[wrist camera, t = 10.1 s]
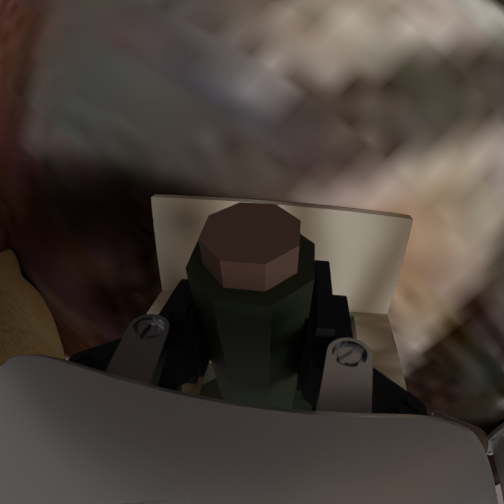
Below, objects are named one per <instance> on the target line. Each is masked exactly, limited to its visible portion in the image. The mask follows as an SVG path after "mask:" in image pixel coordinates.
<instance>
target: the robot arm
mask: <svg viewBox="0 0 504 504" xmlns="http://www.w3.org/2000/svg"><path fill="white" fill-rule="evenodd" d="M209 361H210V357H209V353H208V350H207V346H206V343H205V340H204V336H203V332H202V329H201V325H200V321H199V317H198V313H197V309H196V307H195V304H194V300H193V296H192V292H191V289H190V285H189V281H188V278H187V279H181V280H180V282H179V283H178V285H177V286H176V288H175V289H174V291H173V292H172V294H171V296H170V297H169V299H168V300H167V302H166V303H165V305H164V307H163V308H162V310H161V311H160V313H159V314H158V315H157V314H146V315H142V316H139V317H137V318H135V319H134V320H133V321H131V323H130V324H129V325H128V327H127V329H126V331H125V333H124V335H123V337H122V338H120V339H117V340H114V341H111V342H108V343H105V344H102V345H99V346H96V347H93V348H90V349H87V350H84V351H81V352H79V353H77V354H74V355H73V356H72V357H71V358H70V359H69V360H65V358H64V359H61V358H56V357H52V356H45V355H38V354H32V355H19V356H14V357H12V358H10V359H8V360H7V361H5V362H4V363H3V364H2V365H0V504H498V500H497V494H496V489H495V484H494V479H493V475H492V471H491V468H490V464H489V461H488V458H487V455H494V459H495V463H496V467H497V471H498V476H499V480H500V485H501V490H502V496H503V501H504V422H503V423H501V424H500V425H499V426H498V427H497V428H495V429H494V430H493V431H492V432H491V433H490V434H489V435H488V436H487V435H486V434H485V432H484V431H483V430H481V429H480V428H478V427H476V426H473V425H470V424H467V423H465V422H462V421H459V420H456V419H454V418H451V417H449V416H446V415H443V414H441V413H438V412H436V411H434V412H433V413H432V414H431V413H428V412H427V409H426V407H425V406H424V404H423V403H422V402H421V401H420V400H419V399H417V398H416V397H415V396H413V395H412V394H410V393H409V392H407V391H406V390H405V389H403V388H402V387H400V386H399V385H398V384H396V383H395V382H393V381H392V380H391V379H389V378H388V377H386V376H385V375H384V374H382V373H381V372H379V371H378V370H377V369H375V368H374V367H373V356H372V352H371V350H370V348H369V347H368V346H367V345H366V344H365V343H364V342H362V341H360V340H358V339H354V338H353V336H352V328H351V321H350V314H349V307H348V300H347V296H343V295H333V292H332V282H331V273H330V263H329V261H321V260H315V279H314V286H313V293H312V299H311V306H310V312H309V318H308V324H307V330H306V336H305V341H304V346H303V351H302V355H301V360H300V364H299V369H298V376H297V388H296V390H299V391H302V397H301V399H303V400H306V401H307V402H308V403H309V404H310V405H311V406H312V407H311V410H299V409H288V408H279V407H270V406H262V405H255V404H247V403H241V402H234V401H228V400H222V399H216V398H211V397H205V396H200V395H195V394H190V393H185V392H182V385H183V384H186V383H190V384H195V385H196V384H197V381H198V378H199V377H204V375H205V372H206V370H207V367H208V364H209Z"/></svg>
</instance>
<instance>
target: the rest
mask: <svg viewBox="0 0 504 504" xmlns="http://www.w3.org/2000/svg"><path fill="white" fill-rule="evenodd" d="M239 202H243V203H263V204H276V205H278V206H279V207H281V208H282V209H284V210H285V211H287V212H288V213H290V214H292V215H293V216H295V217H296V218H298V219H299V220H301V226H300V234H302V235H303V236H304V237H306V238H307V239H309V240H310V241H312V242H313V243H314V244H315V260H321V261H329V263H330V273H331V282H332V292H333V295H343V296H347V300H348V307H349V314H350V321H351V328H352V336H353V338H354V339H358V340H360V341H362V342H364V343H365V344H366V345H367V346H368V347H369V348H370V350H371V352H372V356H373V367H374V368H375V369H377V370H378V371H379V372H381V373H382V374H384V375H385V376H386V377H388V378H389V379H391V380H392V381H393V382H395V383H396V384H398V385H399V386H400V387H402V388H403V389H405V390H406V391H407V389H406V385H405V380H404V376H403V372H402V368H401V364H400V359H399V356H398V352H397V348H396V344H395V340H394V337H393V333H392V329H391V326H390V322H389V319H388V315H387V313H388V310H389V307H390V304H391V301H392V297H393V294H394V291H395V287H396V284H397V281H398V277H399V274H400V270H401V266H402V263H403V259H404V255H405V251H406V247H407V243H408V239H409V235H410V230H411V226H412V221H413V219H412V218H411V216H408V215H401V214H393V213H386V212H378V211H370V210H361V209H352V208H343V207H334V206H324V205H314V204H303V203H292V202H280V201H268V200H255V199H240V198H225V197H207V196H187V195H162V194H155V195H153V196H152V197H151V204H152V214H153V223H154V232H155V241H156V249H157V257H158V264H159V271H160V278H161V285H162V292H161V293H160V294H159V296H158V297H157V299H156V300H155V302H154V303H153V305H152V306H151V308H150V309H149V311H148V312H147V313H146V314H157V315H158V314H159V313H160V311H161V310H162V308H163V307H164V305H165V303H166V302H167V300H168V299H169V297H170V296H171V294H172V292H173V291H174V289H175V288H176V286H177V285H178V283H179V282H180V280H181V279H187V278H188V277H187V273H186V269H185V268H186V266H187V263H188V261H189V259H190V257H191V254H192V252H193V250H194V248H195V245H196V243H197V241H198V238H199V236H200V233H201V231H202V229H203V227H204V225H205V222H206V220H207V218H208V216H209V215H211V214H213V213H215V212H218V211H220V210H223V209H225V208H227V207H230V206H232V205H235V204H237V203H239ZM214 378H216V376H215V373H214V370H213V367H212V363H211V360H210V361H209V364H208V367H207V370H206V372H205V375H204V377H199V378H198V381H197V384H196V385H195V384H190V383H186V384H183V385H182V392H185V393H190V394H195V395H200V391H201V387H202V385H204V384H206V383H208V382H209V381H211V380H213V379H214Z"/></svg>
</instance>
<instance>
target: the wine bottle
mask: <svg viewBox="0 0 504 504" xmlns="http://www.w3.org/2000/svg"><path fill="white" fill-rule="evenodd" d="M300 226H301V220H299V219H298V218H296V217H295V216H293V215H292V214H290V213H288V212H287V211H285V210H284V209H282V208H281V207H279V206H278V205H276V204H263V203H243V202H239V203H237V204H235V205H232V206H230V207H227V208H225V209H223V210H220V211H218V212H215V213H213V214H211V215H209V216H208V218H207V220H206V222H205V225H204V227H203V229H202V231H201V233H200V236H199V238H198V241H197V243H196V245H195V248H194V250H193V252H192V254H191V257H190V259H189V261H188V263H187V266H186V268H185V269H186V273H187V277H188V281H189V285H190V289H191V292H192V296H193V300H194V304H195V307H196V309H197V313H198V317H199V321H200V325H201V329H202V332H203V336H204V340H205V343H206V346H207V350H208V353H209V357H210V360H211V363H212V367H213V370H214V373H215V376H216V378H214V379H213V380H211V381H209V382H208V383H206V384H204V385H202V387H201V391H200V396H205V397H211V398H216V399H222V400H228V401H234V402H241V403H247V404H255V405H262V406H270V407H279V408H288V409H299V410H311V407H312V406H311V405H310V404H309V403H308V402H307V401H306V400H303V399H301V397H302V391H299V390H296V388H297V376H298V369H299V364H300V360H301V355H302V351H303V346H304V341H305V336H306V330H307V324H308V318H309V312H310V306H311V299H312V293H313V286H314V279H315V244H314V243H313V242H312V241H310V240H309V239H307V238H306V237H304V236H303V235H302V234H300Z"/></svg>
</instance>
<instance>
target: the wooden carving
mask: <svg viewBox="0 0 504 504" xmlns="http://www.w3.org/2000/svg"><path fill="white" fill-rule="evenodd" d="M32 354H38V355H45V356H52V357H56V358H61V359H64V358H65V355H64V351H63V347H62V343H61V339H60V336H59V333H58V329H57V326H56V323H55V321H54V318H53V316H52V314H51V312H50V310H49V308H48V306H47V305H46V303H45V301H44V300H43V298H42V296H41V295H40V293H39V292H38V291H37V290H36V289H35V288H34V286H32V285H31V284H30V283H29V282H28V281H27V280H26V279H24V278H23V277H22V274H21V270H20V266H19V262H18V259H17V258H16V255H15V254H14V252H13V251H12V250H11V249H8V250H5V251H3V252H0V365H2V364H3V363H4V362H5V361H7V360H8V359H10V358H12V357H14V356H19V355H32Z"/></svg>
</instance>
